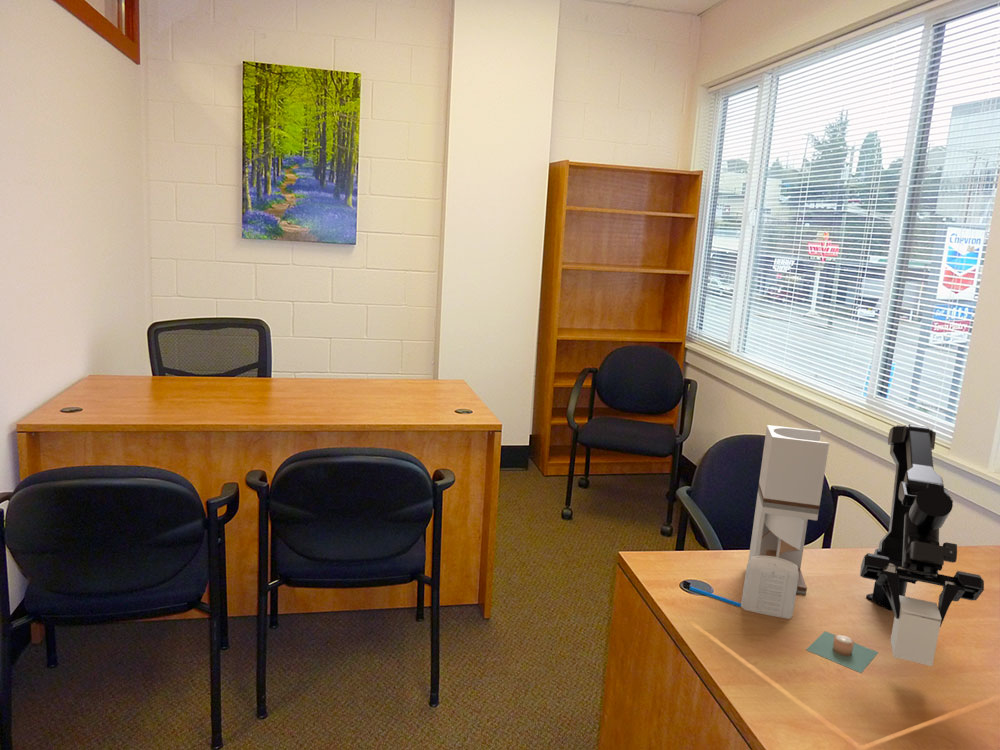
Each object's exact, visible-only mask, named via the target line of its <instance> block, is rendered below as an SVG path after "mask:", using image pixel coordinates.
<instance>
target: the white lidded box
mask: <svg viewBox="0 0 1000 750" xmlns="http://www.w3.org/2000/svg"><path fill="white" fill-rule="evenodd" d="M899 599H900V615H899V619H896V617H895V616H894V618H893V622H892V623H893V624H892V629H891V636H890V640H889V641H890V647H891V651H892V655H893V658H896V659H901V660H905V661H909V662H912V663H917V664H922V665H925V666H929V667H933V666H934V665H933V664H934V660H935V654H936V650H937V644H938V639H939V635H940V634H939V633H940V629H941V627H940V624H941V619H942V618H941V615H940V612H939V609H938V604H937V602H932V601H928V600H924V599H918V598H914V597H910V596H906V595H905V596H901V595H899Z"/></svg>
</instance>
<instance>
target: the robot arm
mask: <svg viewBox="0 0 1000 750" xmlns="http://www.w3.org/2000/svg"><path fill="white" fill-rule="evenodd" d="M936 434H937V433H936V432H935V431H934V430H933V428H930V427H929V426H923V425H918V424H917V425H916V424H905V425H899V424H896V426H892V427H891V428H890V429H889V431H888V437H887V445H890V448H889V454H890V456H891V459H892V460H893V462H894V464H895V475H894V484H893V490H892V491H893V494H892V500H891V511H890V518H889V527H888V531H887V533H886V534H885V535H884V536H883V537H882V539H881V540H880V541H879V543H878V548H876V549H875V550H874V552H873V553H870V552H867V553H865V555H863V559H862V561H861V563H860V564H861V565H860V571H859V572H860V574H859V576H860V577H861V578H864V579H868V580H872V581H875V582H874V585H873V590H872V593H869V594H866V597H865V598H867V599H868V600H871V601H873V602H874V603H876V604H878V605H880V606H882V607H884V608H886V609H888V610H889V611H893V614H894V618H895V617H896V619H899V615H900V599H899V595H901V596H906V593H907V587H908V583H910V584H913V585H916V584H917V582H921V583H926V584H931V585H936V586H939V587H940V586H941V587H942V591H941V592H940V594H939V597H938V604H937V606H938V609H939V612H940V615H941V618H942V619H941V624H940V628H941V626H942V624H943V622H944V620H945V617H946V615H947V612H948V610H949V607H950V606H951V604H952V602H959V600H960V599H963V600H968V601H977V600H978V599H979V597H980V596H981V595H982V593H983V592H984V591H985V581H984V579H983V578H982V576H981V574H976V573H970V572H965V571H961V570H957V571H956V572H955V574H954V575H953V576H950V575H945V574H941V573H940V574H939V572H941V571H942V570H943V566H944V564H945V563H944V562H948V563H953V564H954V563H956V562H957V559H958V557H957V556H958V544H957V543H952V542H943V544H942V545H940V529H941V528H942V527H943V525H944V523H945V521H946V520H947V518H948V516H949V515H950V513H951V512H952V510H953V507H954V500H953V499H952V497H951V495H950V494H949V492H948V488H945V484H944V481H943V477H942V476H941V475H940V474H939V473H937V472H936V470H935V469H934V462H933V461H934V460H933V452H932V451H933V450H935V444H936Z"/></svg>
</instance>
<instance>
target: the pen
mask: <svg viewBox="0 0 1000 750" xmlns="http://www.w3.org/2000/svg"><path fill="white" fill-rule="evenodd" d="M682 587H683V588H685V589H687V588H688V589H687V590H689V591H692V592H695V593H698V594H701V595H705V596H706V597H710V598H713V599H715V600H718V601H721V602H724V603H726V604H730V605H733V606H736V607H739V608H742V607H741V602H738V601H735V600H732V599H729V598H727V597H722V596H719V595H717V594H714V593H711V592H708V591H705V590H702V589H699V588H696V587H693V586H690V585H682Z"/></svg>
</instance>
